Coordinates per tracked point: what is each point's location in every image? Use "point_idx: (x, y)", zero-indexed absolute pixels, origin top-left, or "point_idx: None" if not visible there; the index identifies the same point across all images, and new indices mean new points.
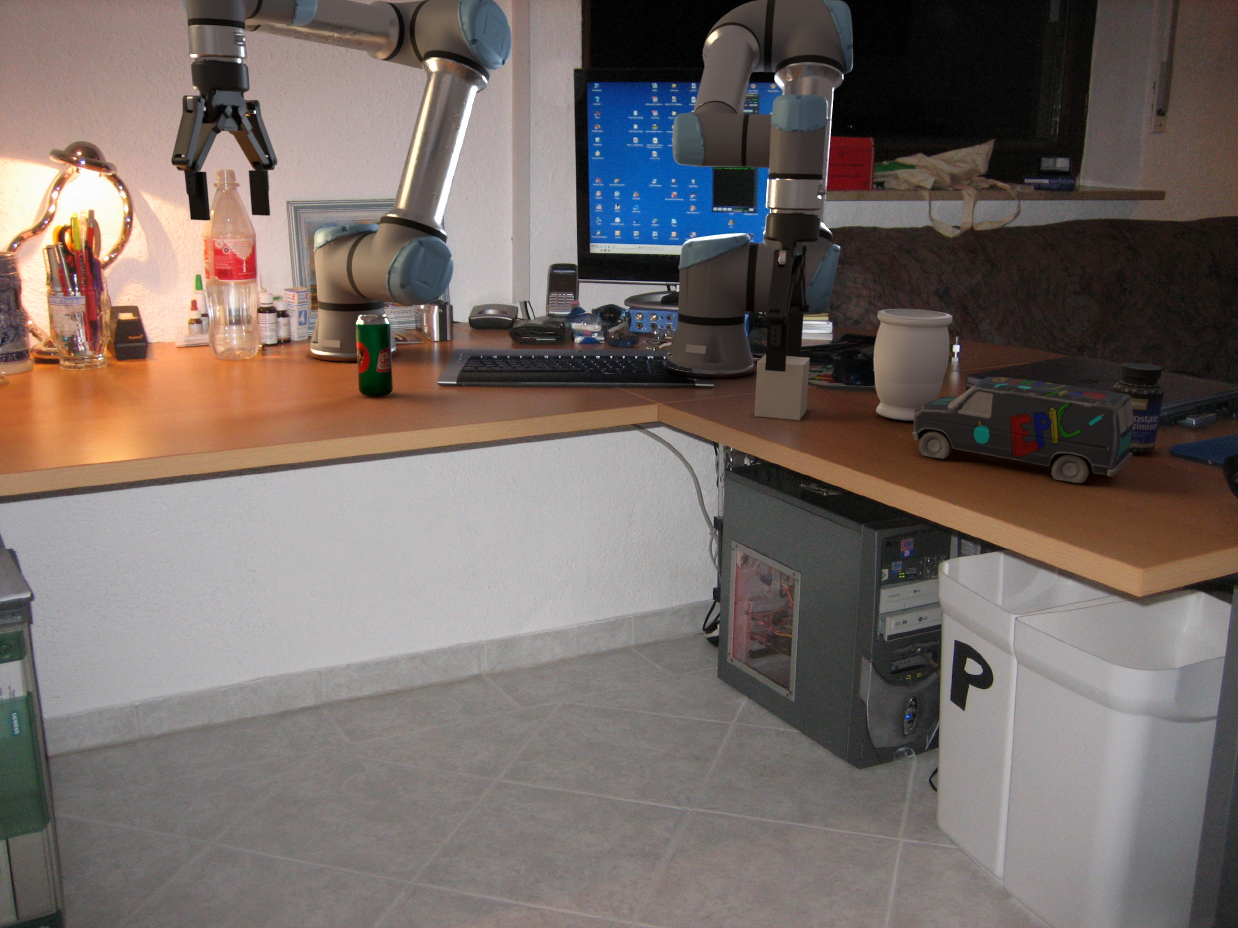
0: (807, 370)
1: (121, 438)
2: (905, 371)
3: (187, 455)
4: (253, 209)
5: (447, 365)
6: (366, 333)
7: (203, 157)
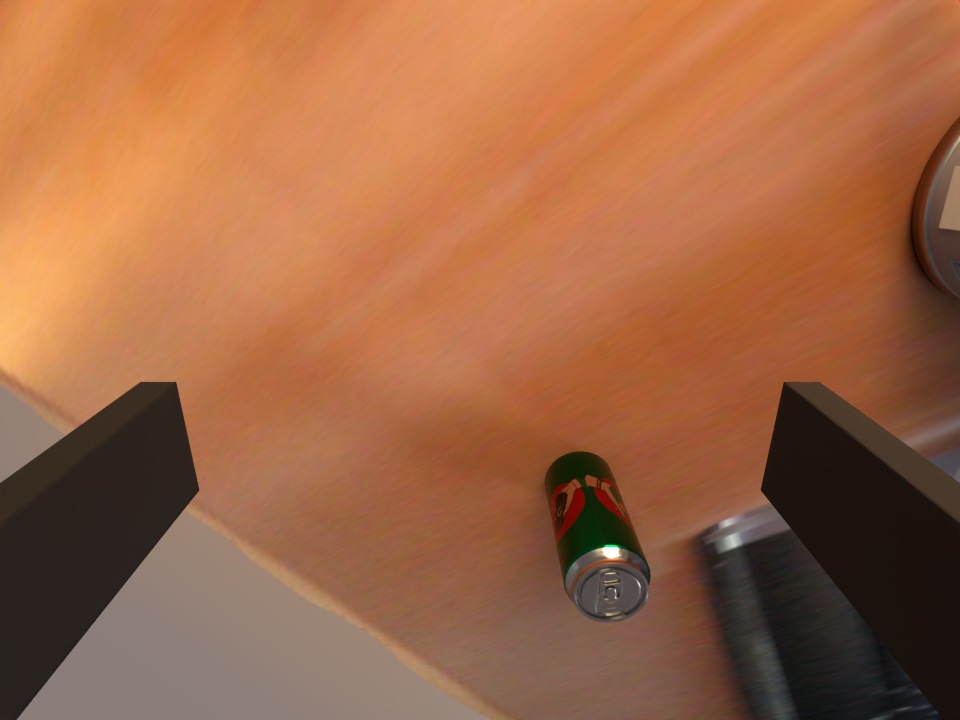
0: None
1: (72, 256)
2: None
3: None
4: (801, 415)
5: None
6: (561, 570)
7: None
